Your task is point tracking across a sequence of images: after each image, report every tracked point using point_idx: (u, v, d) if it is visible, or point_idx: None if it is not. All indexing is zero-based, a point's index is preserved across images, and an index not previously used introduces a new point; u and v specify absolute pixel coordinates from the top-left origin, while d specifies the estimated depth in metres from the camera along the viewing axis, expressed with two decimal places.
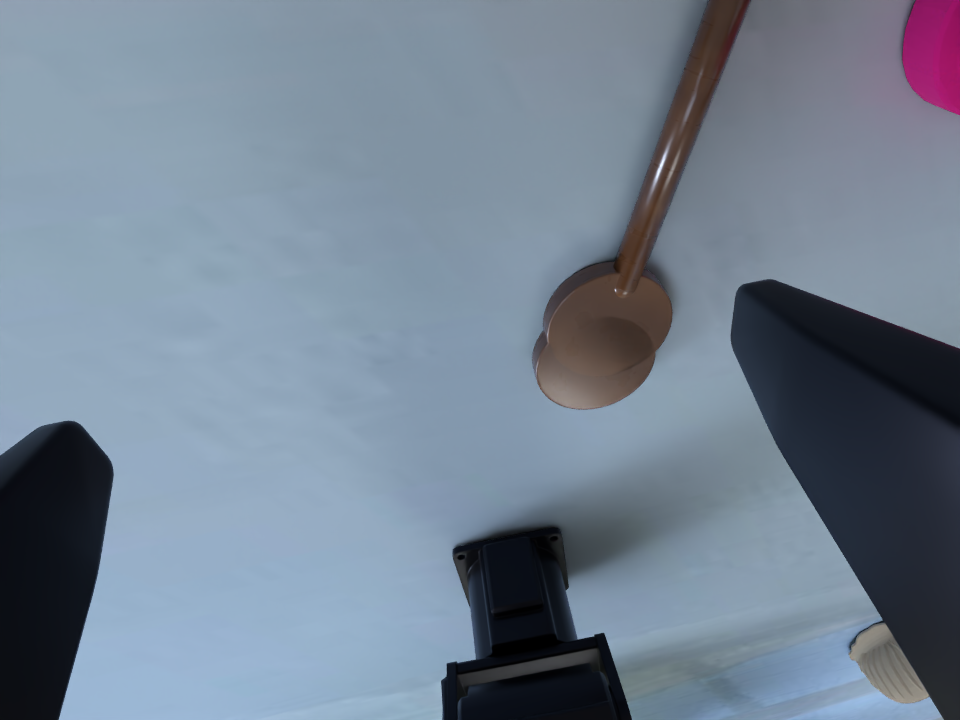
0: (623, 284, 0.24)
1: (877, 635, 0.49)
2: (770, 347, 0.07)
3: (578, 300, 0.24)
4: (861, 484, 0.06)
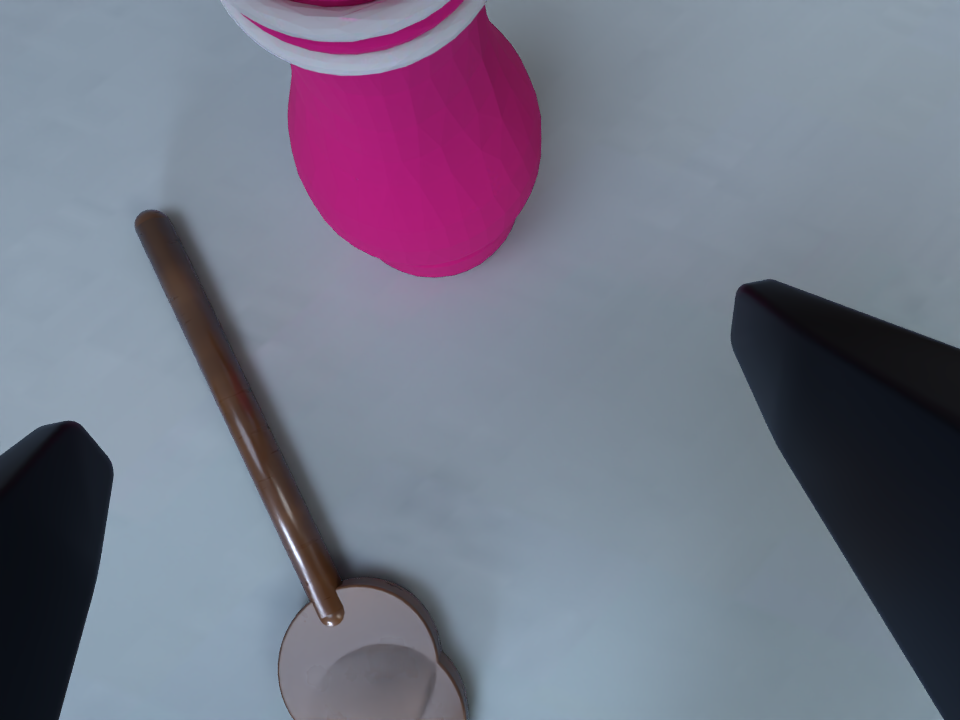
0: (321, 610, 0.20)
1: None
2: (770, 347, 0.07)
3: (293, 659, 0.20)
4: (861, 484, 0.06)
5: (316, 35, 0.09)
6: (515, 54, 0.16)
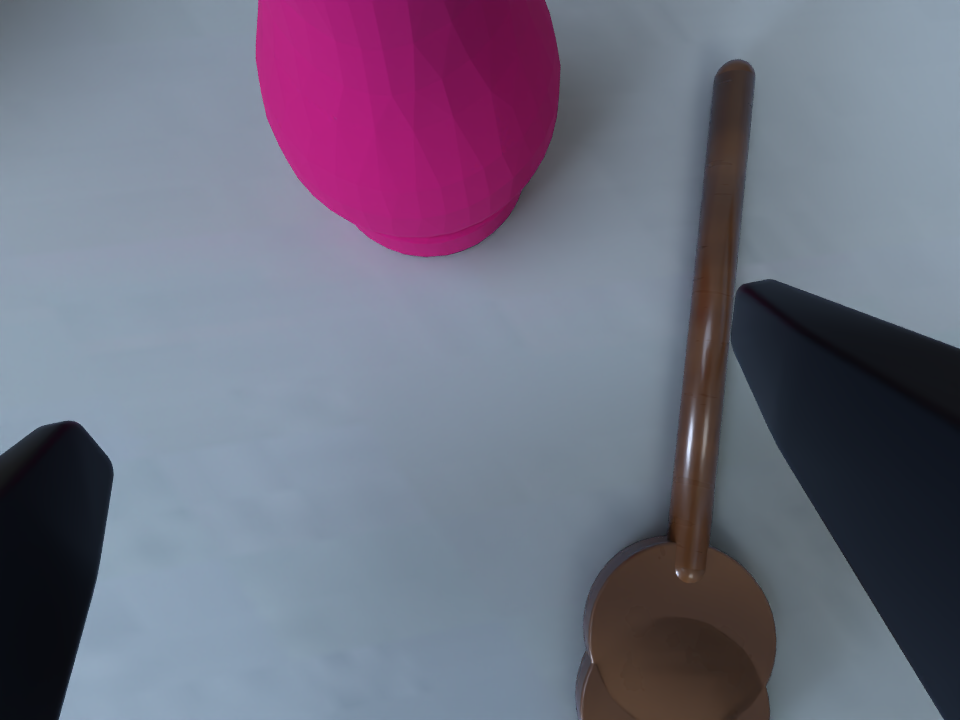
0: (684, 559, 0.17)
1: None
2: (770, 347, 0.07)
3: (625, 586, 0.17)
4: (861, 484, 0.06)
5: None
6: None
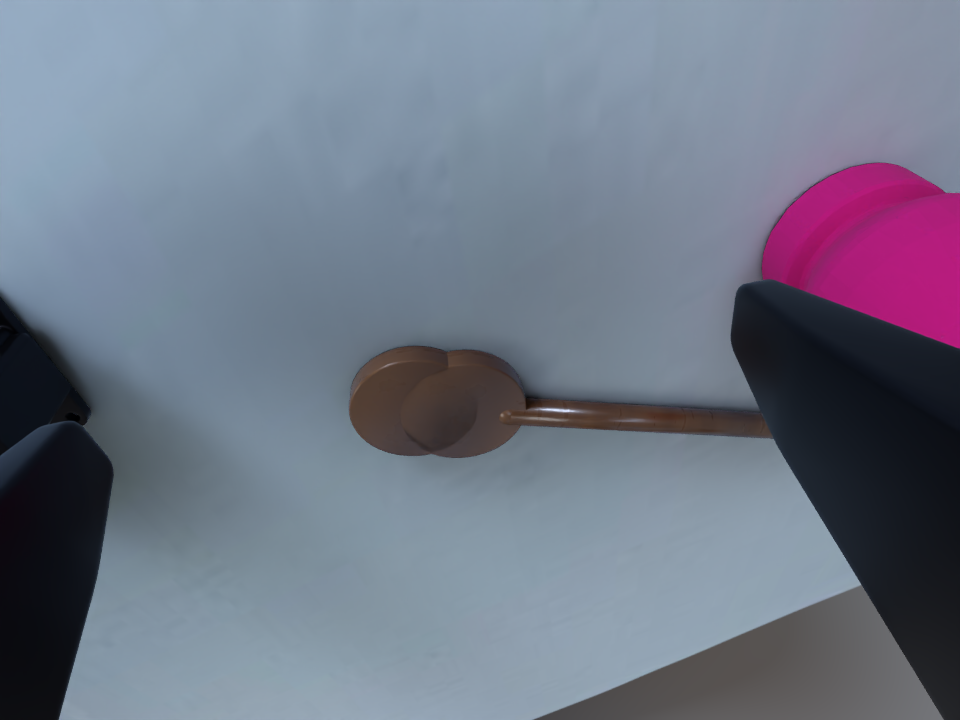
0: (516, 415, 0.26)
1: None
2: (770, 347, 0.07)
3: (500, 384, 0.25)
4: (861, 484, 0.06)
5: None
6: None
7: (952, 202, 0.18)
